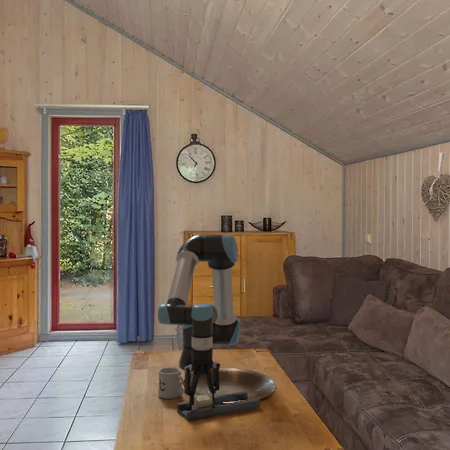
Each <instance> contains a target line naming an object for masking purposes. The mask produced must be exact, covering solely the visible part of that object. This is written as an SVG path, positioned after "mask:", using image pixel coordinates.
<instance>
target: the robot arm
mask: <svg viewBox="0 0 450 450" xmlns="http://www.w3.org/2000/svg"><path fill="white" fill-rule="evenodd" d="M237 243H238V242H237V240H236V238H235V237H234V236H233V235H231V234H196V235H193V236H192V237H190V238H188V239H187V240H186V241H184V243H183V244H182V245H181V246H180V248H179V249H178V251H177V254H176V258H175V259H176V263H177V264H176V267H175V271H174V276H173V278H172V282H171V286H170V289H169V293H168V297H167V300H166V303H161V304H160V305H159V307H158V309H157V320H158V323H160V324H162V325H169V326H171V325H173V326H174V325H175V326H177V325H178V326H179V325H181V326H182V351H181V354H180V357H179V361H178V366H179V368H181V369H183V371H184V388H183V390H184V392H183V393H184V394H185V395H187V396H188V397H189V399H188V401H189V403H190V404H191V405H192V410H196V409H197V396H198V395H196V390H197V387H198V383H199V379H200V378H201V375H205V379H206V382H207V387H208V391H206V395H207V396H209V397H210V398H212V401H214V396H215V394H216V393H217V391H219V390H220V368H221V363H219V362H217V361H214V359H213V357H214V356H213V352H214V351H213V345H227V346H229V345H230V346H231V345H232V346H235V345H237V344H238V342H239V338H240V332H241V331H240V330H241V323H242V321H241V319H239V318H238V316H237V313H235V311H234V293H233V277H232V274H233V273H232V269H233V268H234V266H235V263H237V262H238V259H239V252H238V251H239V250H238V244H237ZM200 262H203V263H205V262H206V263H207V265H208V268H209V269H210V270H211V276H212V277H211V278H212V293H213V294H212V295H213V304H211V303H195V304H187V303H188V299H189V295H190V290H191V286H192V282H193V278H194V277H193V276H194V275H195V274H194V273H195V268H196V267H197V266H198V265H199V263H200ZM211 369H212V373H211ZM192 371H193V373H191V372H192ZM212 377H213V379H212Z"/></svg>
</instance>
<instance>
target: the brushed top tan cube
mask: <svg viewBox="0 0 450 450" xmlns="http://www.w3.org/2000/svg"><path fill="white" fill-rule="evenodd" d="M196 396H197V409H201V408H207V407H212V398H210V397H209V396H207V393H206V394H199V395H196Z"/></svg>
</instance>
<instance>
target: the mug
mask: <svg viewBox="0 0 450 450" xmlns="http://www.w3.org/2000/svg"><path fill="white" fill-rule="evenodd" d="M184 383H185V380H184V378H183V377H182V370H181V369H180V367H179V368H178V367H174V366H173V367H171V366H169V367H163V368H159V369H158V390H157V395H158V397H159V398H161V399H164V400H166V399H167V400H174V399H177V398H179V397H180V396H183V393H184V388H183V385H184Z"/></svg>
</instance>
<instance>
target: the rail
mask: <svg viewBox="0 0 450 450" xmlns="http://www.w3.org/2000/svg"><path fill="white" fill-rule="evenodd" d="M248 394H249V393H248V391H245V390H244V391H238V392H232V393H227V394H222V395H221V394H220V395H216V396H215V395H214V401H212V407H207V408H201V409H196V410H192V405H191V404H190V403H189V400H187V401H181V402H176V412H177V413H178V414H179V415H181V416H182V417H183V418H184V419H185V420H186V421H188V422H195V421H199V420H200V421H201V420H206V419H209V418H215V417H221V416H225V415H230V414H236V413H237V414H238V413H240V412H245V411H253V410H256V409H260V408H261V399H259V398H258V397H256V398H250V397H249V395H248ZM238 400H245V401H240V402H234V403H229V404H224V403H223V402H229V401H238Z"/></svg>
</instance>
